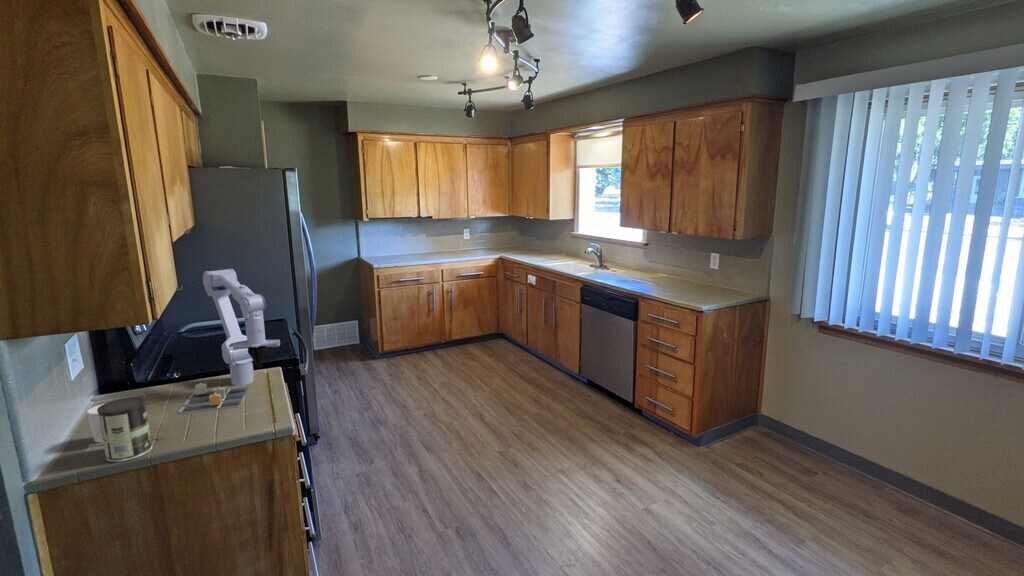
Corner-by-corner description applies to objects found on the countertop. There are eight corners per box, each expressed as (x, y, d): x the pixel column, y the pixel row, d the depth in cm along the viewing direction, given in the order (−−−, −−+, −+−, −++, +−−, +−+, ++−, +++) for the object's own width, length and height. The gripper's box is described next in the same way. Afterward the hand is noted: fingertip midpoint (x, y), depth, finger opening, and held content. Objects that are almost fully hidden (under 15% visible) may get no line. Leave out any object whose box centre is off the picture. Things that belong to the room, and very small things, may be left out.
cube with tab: (197, 392, 173) (196, 383, 172) (207, 391, 174) (206, 382, 173) (195, 394, 171) (194, 385, 170) (205, 393, 172) (204, 384, 171)
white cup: (121, 431, 148) (116, 400, 146) (131, 439, 144) (126, 406, 142) (88, 442, 142) (82, 409, 140) (97, 450, 137) (92, 416, 136)
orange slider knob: (211, 403, 164) (210, 393, 163) (221, 402, 165) (220, 392, 164) (209, 405, 162) (208, 395, 161) (220, 404, 163) (219, 394, 162)
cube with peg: (215, 396, 169) (214, 386, 169) (225, 395, 170) (224, 385, 170) (214, 398, 168) (213, 388, 167) (224, 397, 169) (223, 387, 168)
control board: (191, 396, 175) (191, 392, 175) (248, 389, 180) (248, 386, 180) (174, 418, 157) (174, 414, 157) (238, 410, 163) (238, 406, 162)
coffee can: (148, 440, 143) (141, 393, 141) (155, 452, 136) (149, 404, 133) (102, 452, 136) (94, 404, 133) (108, 466, 129) (99, 415, 126)
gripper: (229, 334, 166) (233, 373, 169) (276, 331, 171) (280, 368, 173) (233, 329, 173) (237, 366, 175) (279, 326, 177) (282, 362, 180)
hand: (259, 367), depth 175 cm, fingers closed
